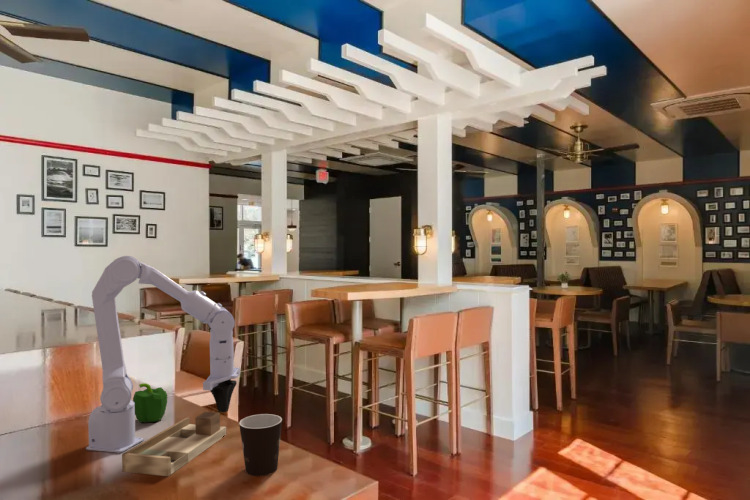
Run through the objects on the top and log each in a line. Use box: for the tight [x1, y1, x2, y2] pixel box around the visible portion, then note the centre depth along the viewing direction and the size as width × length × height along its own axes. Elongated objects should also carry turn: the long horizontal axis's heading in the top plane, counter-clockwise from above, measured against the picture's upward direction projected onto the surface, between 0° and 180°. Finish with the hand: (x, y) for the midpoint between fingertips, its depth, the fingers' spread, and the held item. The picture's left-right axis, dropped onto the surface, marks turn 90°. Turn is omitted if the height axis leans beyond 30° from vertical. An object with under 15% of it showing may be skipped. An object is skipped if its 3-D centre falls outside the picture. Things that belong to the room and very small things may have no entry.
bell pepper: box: [132, 382, 168, 423], centre depth 138 cm, size 8×8×10 cm
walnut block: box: [194, 411, 221, 436], centre depth 123 cm, size 4×4×4 cm
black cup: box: [238, 413, 283, 477], centre depth 109 cm, size 12×9×10 cm
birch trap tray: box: [121, 417, 227, 477], centre depth 117 cm, size 11×23×4 cm, turn 167°
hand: (223, 411), depth 130 cm, fingers closed
